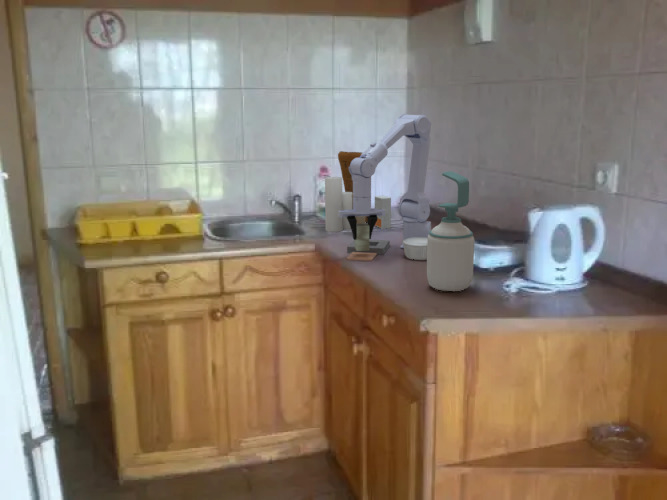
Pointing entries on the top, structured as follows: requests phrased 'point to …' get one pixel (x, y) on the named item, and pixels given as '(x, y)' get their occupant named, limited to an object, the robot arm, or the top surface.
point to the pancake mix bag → (345, 161)
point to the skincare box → (385, 204)
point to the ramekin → (415, 248)
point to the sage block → (362, 237)
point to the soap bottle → (451, 245)
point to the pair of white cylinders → (336, 205)
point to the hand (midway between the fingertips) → (362, 238)
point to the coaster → (361, 256)
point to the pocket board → (372, 247)
